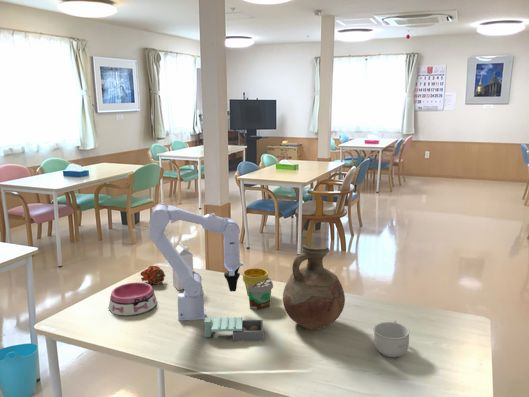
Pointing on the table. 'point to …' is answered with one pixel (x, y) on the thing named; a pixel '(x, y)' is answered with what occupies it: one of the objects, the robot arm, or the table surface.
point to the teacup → (391, 338)
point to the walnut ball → (253, 328)
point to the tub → (249, 334)
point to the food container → (260, 294)
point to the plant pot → (254, 276)
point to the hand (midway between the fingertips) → (233, 286)
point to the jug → (313, 291)
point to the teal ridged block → (222, 325)
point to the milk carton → (187, 258)
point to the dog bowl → (132, 299)
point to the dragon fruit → (153, 275)
